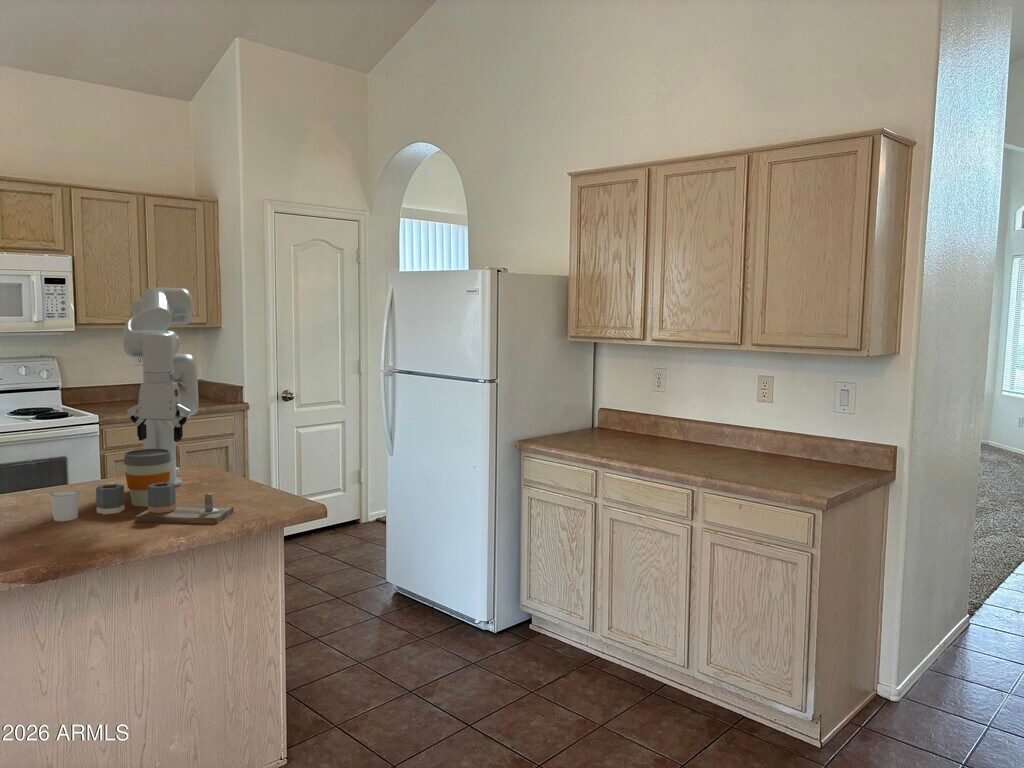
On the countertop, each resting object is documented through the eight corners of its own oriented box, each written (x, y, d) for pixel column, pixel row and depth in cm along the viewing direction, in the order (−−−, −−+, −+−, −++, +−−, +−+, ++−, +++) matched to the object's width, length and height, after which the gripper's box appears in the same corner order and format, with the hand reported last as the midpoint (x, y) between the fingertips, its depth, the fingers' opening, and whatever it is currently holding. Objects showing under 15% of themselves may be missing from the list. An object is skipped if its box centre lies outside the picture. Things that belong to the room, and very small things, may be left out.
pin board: (156, 510, 217) (155, 487, 217) (233, 511, 217) (233, 489, 217) (135, 521, 205) (134, 498, 205) (216, 523, 205) (216, 500, 205)
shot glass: (53, 516, 210) (52, 490, 209) (82, 514, 212) (81, 489, 211) (48, 522, 203) (47, 496, 203) (77, 520, 206) (76, 495, 205)
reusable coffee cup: (120, 509, 218) (119, 457, 216) (130, 498, 230) (128, 449, 228) (168, 506, 221) (167, 455, 220) (175, 496, 233) (174, 447, 232)
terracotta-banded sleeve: (157, 506, 215) (156, 481, 214) (178, 506, 215) (177, 482, 214) (145, 512, 208) (144, 487, 207) (167, 513, 208) (166, 488, 207)
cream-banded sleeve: (106, 507, 219) (105, 483, 218) (127, 508, 219) (126, 484, 218) (93, 514, 212) (92, 489, 211) (114, 514, 212) (114, 489, 211)
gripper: (196, 377, 211) (197, 438, 213) (133, 375, 211) (135, 436, 213) (184, 380, 204) (185, 443, 206) (119, 378, 204) (121, 441, 206)
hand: (160, 440), depth 210 cm, fingers open, 9 cm apart
